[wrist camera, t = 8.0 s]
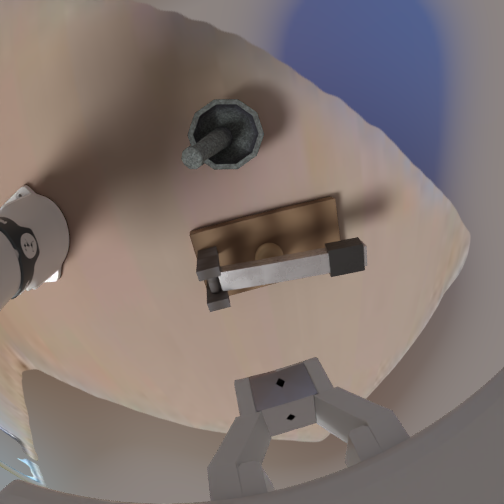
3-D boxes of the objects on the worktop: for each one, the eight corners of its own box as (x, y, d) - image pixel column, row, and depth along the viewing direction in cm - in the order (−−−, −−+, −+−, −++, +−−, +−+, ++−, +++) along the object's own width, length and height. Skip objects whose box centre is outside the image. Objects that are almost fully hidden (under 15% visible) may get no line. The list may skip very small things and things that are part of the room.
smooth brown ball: (256, 267, 46) (261, 279, 42) (250, 243, 44) (254, 252, 40) (281, 260, 46) (289, 271, 42) (277, 236, 44) (284, 245, 40)
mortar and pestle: (231, 95, 37) (240, 75, 26) (266, 142, 41) (288, 139, 30) (171, 138, 38) (158, 133, 27) (208, 184, 42) (208, 197, 31)
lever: (225, 286, 42) (223, 295, 39) (218, 262, 40) (215, 270, 38) (362, 261, 39) (367, 269, 37) (361, 236, 38) (366, 243, 35)
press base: (210, 294, 49) (212, 328, 39) (190, 231, 44) (186, 253, 35) (337, 259, 50) (363, 283, 41) (330, 196, 46) (359, 209, 36)
